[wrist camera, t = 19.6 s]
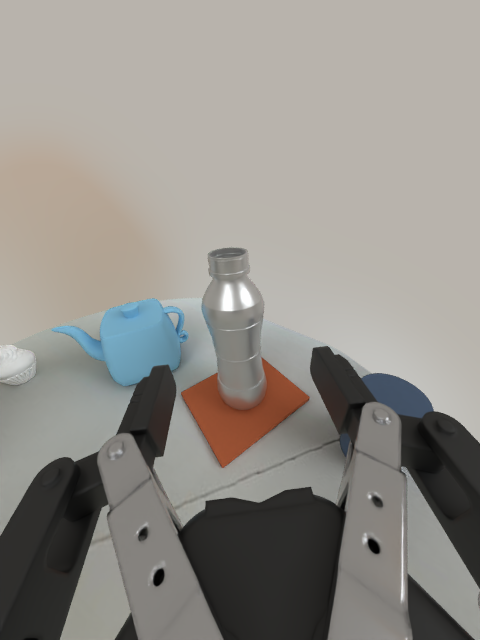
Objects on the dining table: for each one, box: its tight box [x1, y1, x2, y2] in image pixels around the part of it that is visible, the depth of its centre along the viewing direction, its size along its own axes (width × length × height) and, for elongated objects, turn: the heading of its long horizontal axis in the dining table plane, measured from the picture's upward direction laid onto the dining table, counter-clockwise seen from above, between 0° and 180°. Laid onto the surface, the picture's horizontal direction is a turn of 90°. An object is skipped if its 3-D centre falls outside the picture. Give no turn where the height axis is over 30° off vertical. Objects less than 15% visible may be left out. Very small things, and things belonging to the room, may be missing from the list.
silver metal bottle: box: [202, 248, 267, 410], centre depth 24 cm, size 6×7×20 cm
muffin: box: [0, 345, 36, 385], centre depth 35 cm, size 6×6×7 cm
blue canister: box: [340, 373, 433, 457], centre depth 21 cm, size 6×6×9 cm
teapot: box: [52, 298, 188, 386], centre depth 35 cm, size 12×18×12 cm
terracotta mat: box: [181, 357, 310, 468], centre depth 30 cm, size 14×12×1 cm
